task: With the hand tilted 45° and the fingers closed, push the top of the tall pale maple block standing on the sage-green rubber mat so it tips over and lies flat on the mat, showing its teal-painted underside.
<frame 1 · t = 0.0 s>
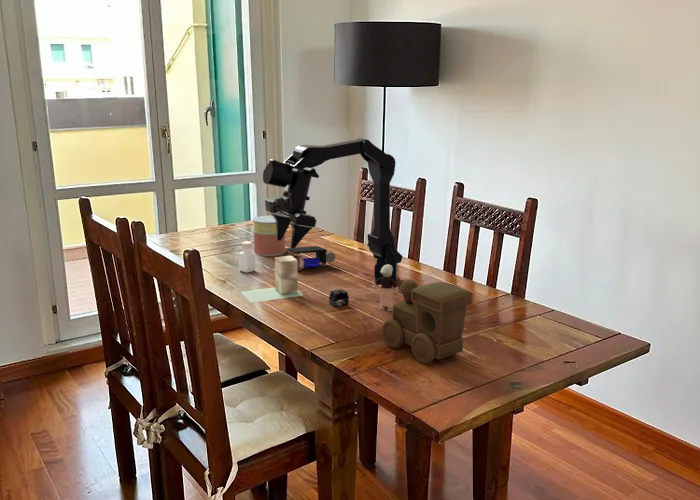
hand: (285, 244, 185), 15 cm above the table, tool pointing down, fingers open, 9 cm apart
grandmother figurine: (385, 309, 181), on the table
black boxy device: (338, 308, 182), on the table
maple block: (286, 291, 191), resting on mat
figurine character: (310, 268, 216), on the table
wooden toy train: (422, 351, 154), on the table
pepper shaker: (247, 271, 211), on the table
mat: (271, 295, 189), on the table
canned food: (269, 252, 234), on the table
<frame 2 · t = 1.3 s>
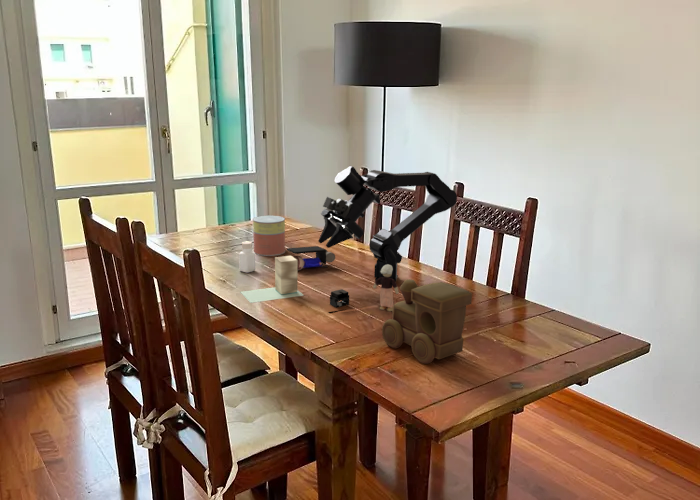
hand: (323, 244, 192), 14 cm above the table, tool tilted 45°, fingers open, 5 cm apart
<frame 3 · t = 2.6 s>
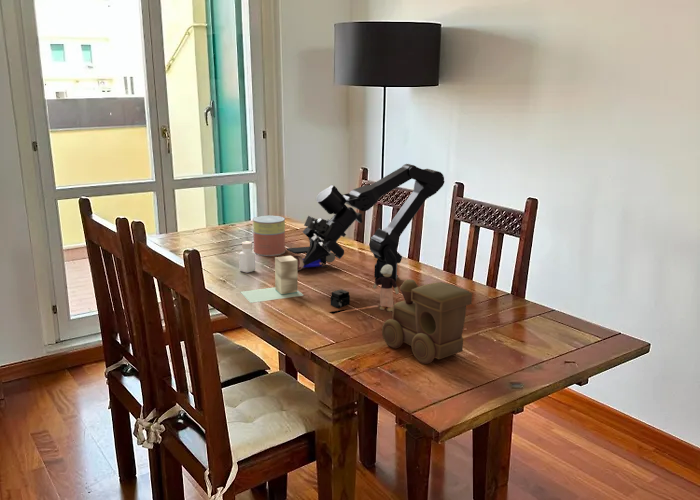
hand: (304, 263, 191), 8 cm above the table, tool tilted 45°, fingers closed
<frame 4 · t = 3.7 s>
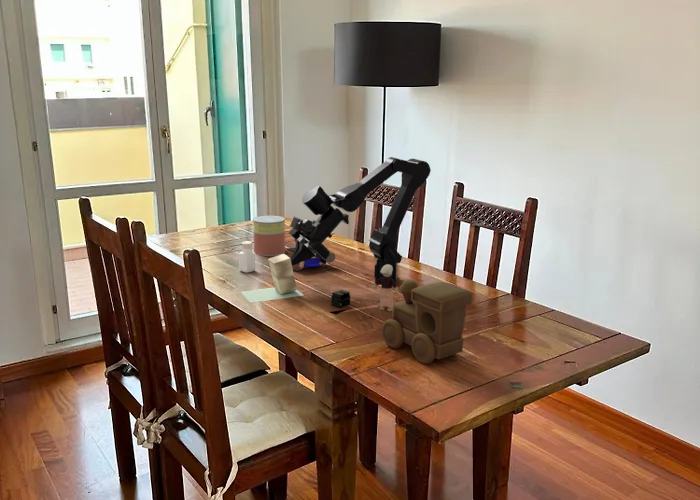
hand: (289, 265, 189), 8 cm above the table, tool tilted 45°, fingers closed, pressing on maple block
maple block: (286, 289, 191), point 1 cm above the table, tilted 12°, touching gripper, mat
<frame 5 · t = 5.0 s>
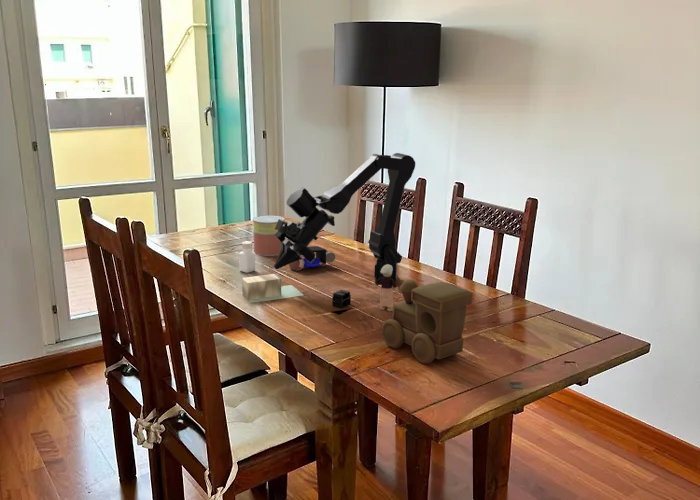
hand: (275, 268, 188), 8 cm above the table, tool tilted 45°, fingers closed
maple block: (278, 284, 189), point 3 cm above the table, tilted 90°, touching mat
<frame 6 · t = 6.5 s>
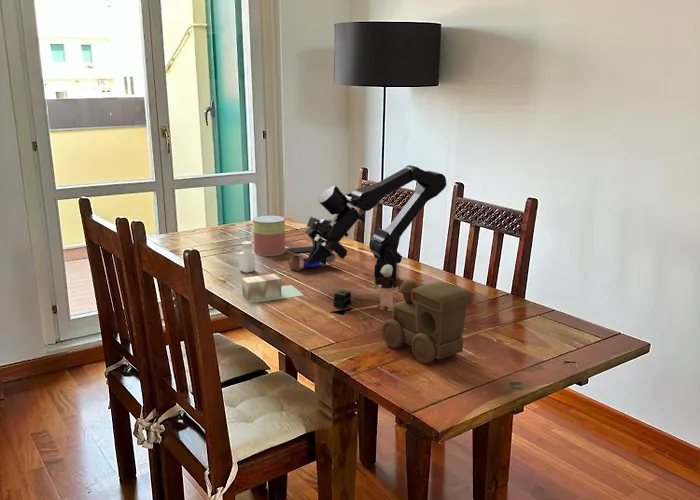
hand: (307, 264, 192), 8 cm above the table, tool tilted 45°, fingers closed
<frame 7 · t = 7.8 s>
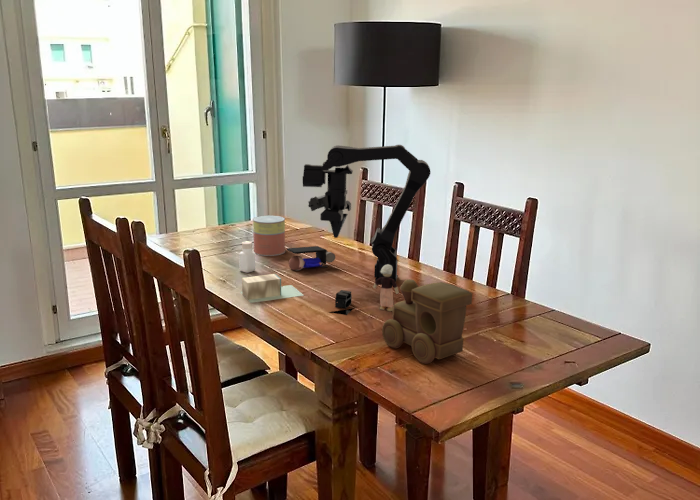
hand: (335, 237, 203), 13 cm above the table, tool pointing down, fingers closed
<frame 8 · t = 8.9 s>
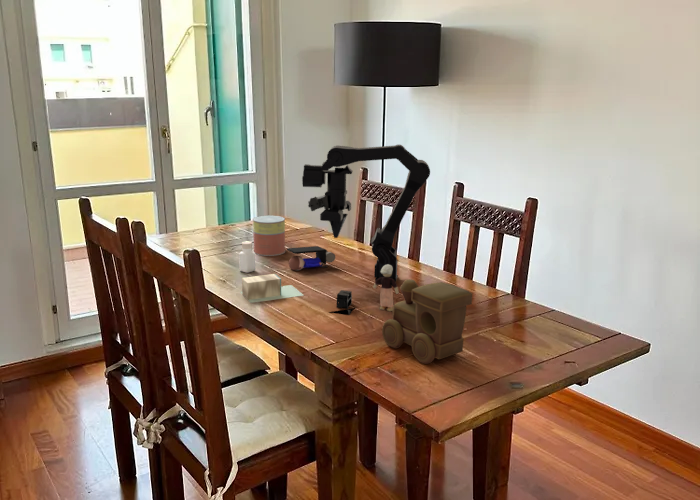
hand: (335, 237, 203), 13 cm above the table, tool pointing down, fingers closed
at the end: maple block tilted 90°; maple block 2.0 cm from the mat (horizontally); maple block point 3.0 cm above the table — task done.
